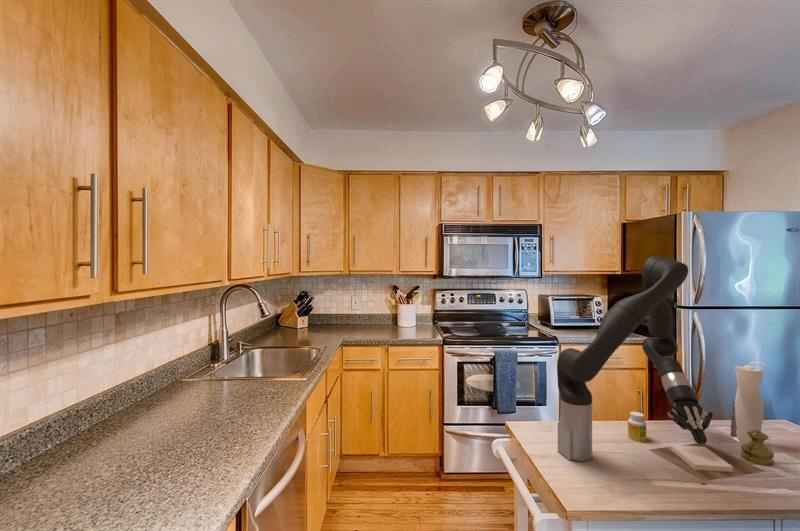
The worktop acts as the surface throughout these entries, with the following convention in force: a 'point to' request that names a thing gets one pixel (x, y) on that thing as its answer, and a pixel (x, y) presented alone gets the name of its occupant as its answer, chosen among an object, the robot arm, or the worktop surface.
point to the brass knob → (757, 449)
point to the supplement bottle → (637, 427)
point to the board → (737, 464)
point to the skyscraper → (747, 402)
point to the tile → (701, 458)
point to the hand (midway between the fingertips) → (702, 443)
